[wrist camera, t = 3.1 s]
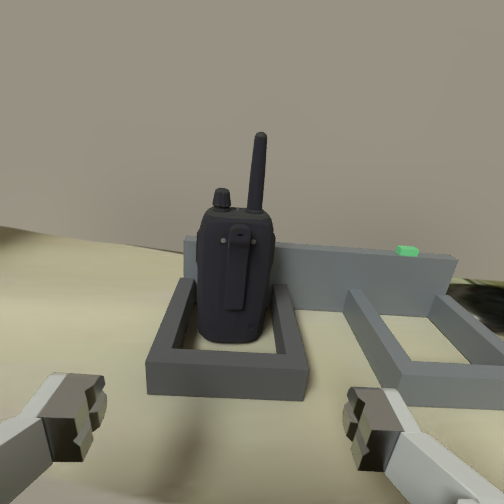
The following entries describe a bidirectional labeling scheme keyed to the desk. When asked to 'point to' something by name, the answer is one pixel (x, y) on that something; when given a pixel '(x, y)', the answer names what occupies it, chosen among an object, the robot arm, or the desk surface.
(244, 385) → the grey rectangular frame
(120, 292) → the desk surface
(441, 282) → the dock
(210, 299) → the two-way radio
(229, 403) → the desk surface
